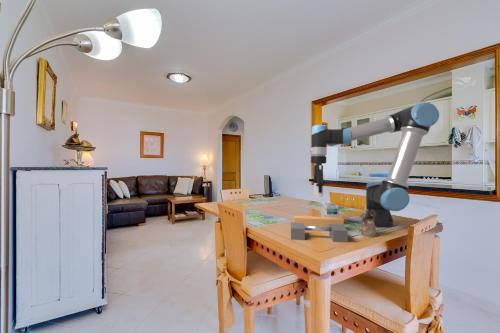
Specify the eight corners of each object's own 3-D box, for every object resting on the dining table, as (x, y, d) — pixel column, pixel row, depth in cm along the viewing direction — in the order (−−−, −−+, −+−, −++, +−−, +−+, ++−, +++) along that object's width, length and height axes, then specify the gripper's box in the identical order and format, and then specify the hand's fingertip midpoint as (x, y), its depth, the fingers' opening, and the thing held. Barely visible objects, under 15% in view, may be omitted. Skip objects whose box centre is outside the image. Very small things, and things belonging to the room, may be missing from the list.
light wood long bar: (341, 229, 124) (341, 217, 124) (343, 231, 119) (343, 219, 119) (294, 226, 128) (294, 215, 128) (294, 229, 123) (294, 218, 123)
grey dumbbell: (342, 235, 113) (342, 224, 113) (347, 242, 103) (347, 230, 103) (290, 232, 117) (290, 222, 116) (291, 239, 107) (291, 228, 107)
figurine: (359, 231, 119) (360, 207, 118) (375, 233, 115) (376, 208, 115) (358, 235, 112) (359, 210, 112) (375, 237, 109) (376, 211, 109)
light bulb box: (339, 225, 130) (339, 205, 130) (326, 225, 131) (326, 205, 130) (332, 220, 141) (332, 202, 141) (321, 220, 141) (321, 201, 141)
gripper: (309, 156, 135) (308, 193, 136) (313, 155, 111) (312, 200, 111) (322, 156, 134) (322, 194, 135) (330, 155, 109) (329, 201, 110)
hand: (318, 197), depth 123 cm, fingers open, 13 cm apart
